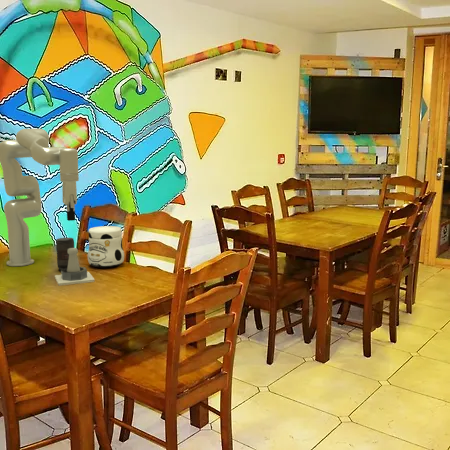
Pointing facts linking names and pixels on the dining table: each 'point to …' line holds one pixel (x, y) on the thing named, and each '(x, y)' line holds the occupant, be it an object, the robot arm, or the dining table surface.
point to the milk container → (105, 246)
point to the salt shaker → (73, 260)
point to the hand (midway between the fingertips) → (71, 220)
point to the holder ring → (74, 274)
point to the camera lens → (63, 251)
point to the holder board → (66, 282)
